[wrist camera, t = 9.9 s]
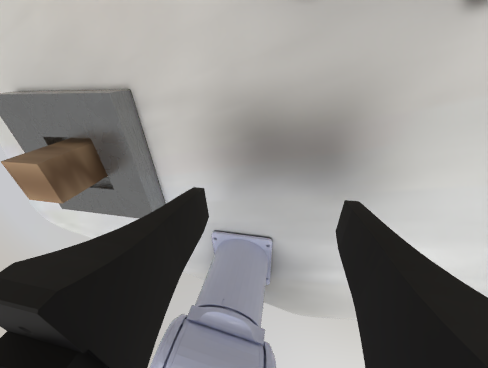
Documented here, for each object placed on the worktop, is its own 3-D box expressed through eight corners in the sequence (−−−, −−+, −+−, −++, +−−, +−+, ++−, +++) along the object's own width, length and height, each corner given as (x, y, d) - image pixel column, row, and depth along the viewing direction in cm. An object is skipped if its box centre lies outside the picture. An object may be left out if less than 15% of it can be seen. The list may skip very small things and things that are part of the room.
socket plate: (166, 207, 25) (155, 220, 23) (79, 197, 28) (62, 208, 26) (130, 89, 18) (109, 92, 16) (16, 91, 21) (-14, 94, 19)
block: (118, 169, 24) (62, 203, 18) (91, 167, 24) (29, 199, 19) (105, 136, 22) (37, 164, 16) (76, 135, 22) (0, 161, 16)
